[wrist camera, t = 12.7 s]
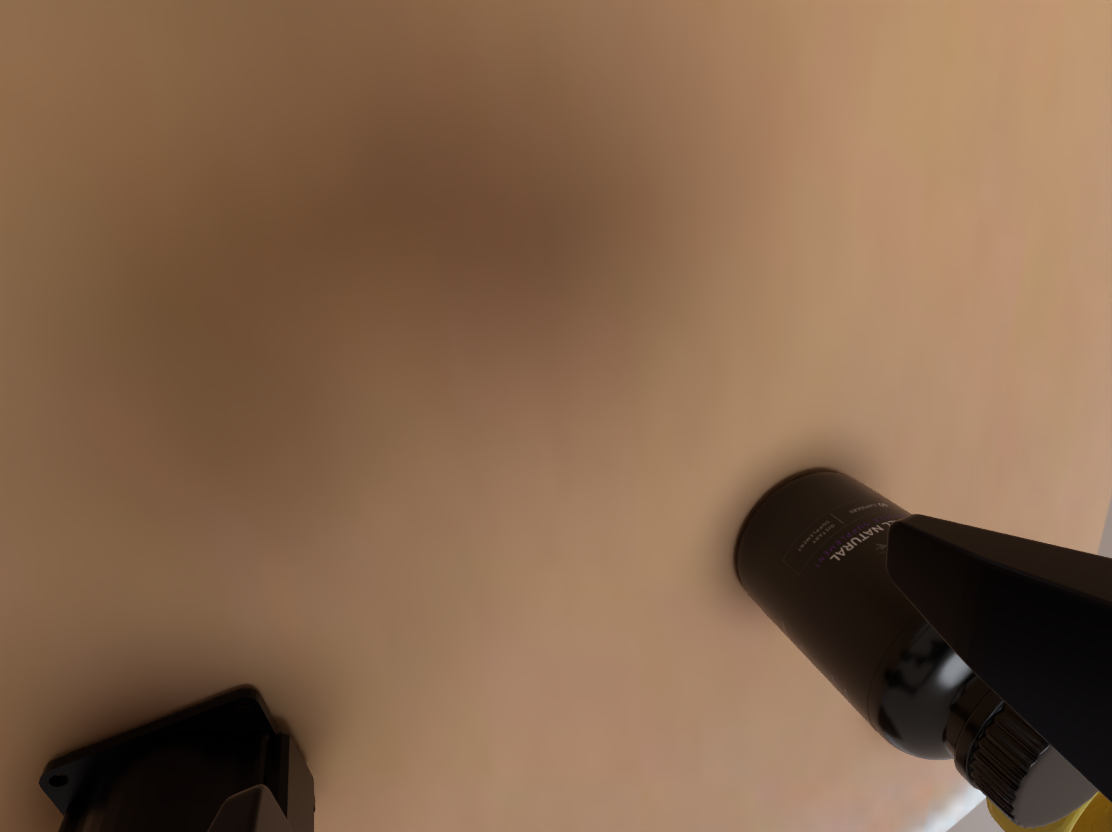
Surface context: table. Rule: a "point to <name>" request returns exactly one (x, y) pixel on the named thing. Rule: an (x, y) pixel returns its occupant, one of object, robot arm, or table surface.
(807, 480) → the supplement bottle
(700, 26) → the table surface
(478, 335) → the table surface
